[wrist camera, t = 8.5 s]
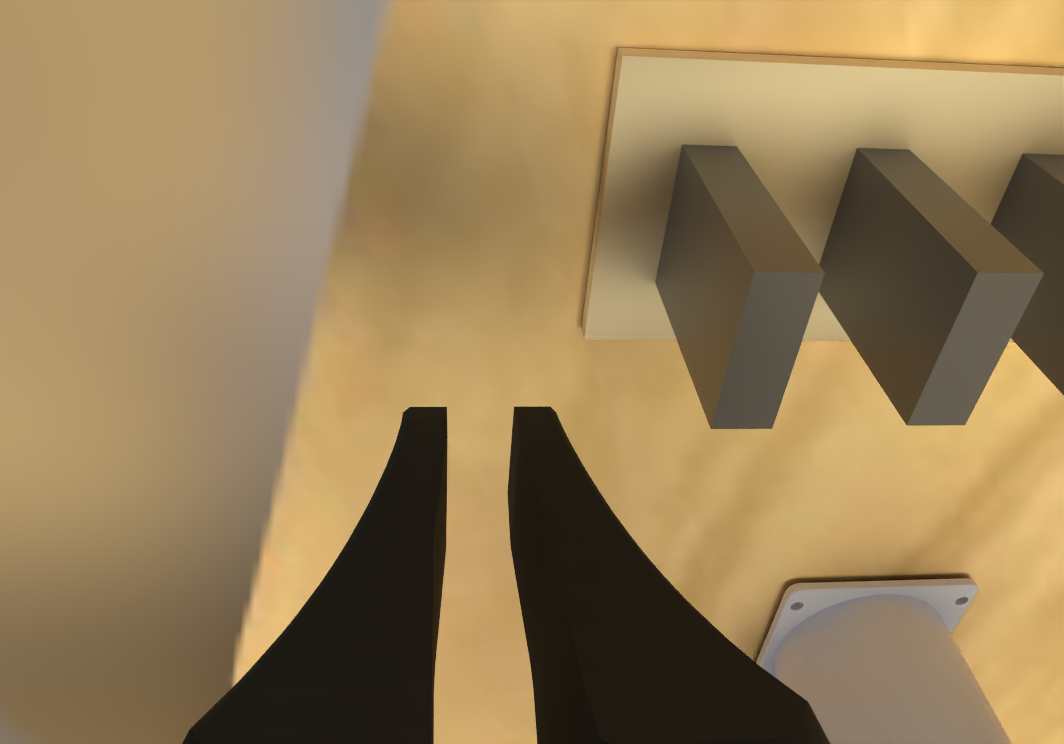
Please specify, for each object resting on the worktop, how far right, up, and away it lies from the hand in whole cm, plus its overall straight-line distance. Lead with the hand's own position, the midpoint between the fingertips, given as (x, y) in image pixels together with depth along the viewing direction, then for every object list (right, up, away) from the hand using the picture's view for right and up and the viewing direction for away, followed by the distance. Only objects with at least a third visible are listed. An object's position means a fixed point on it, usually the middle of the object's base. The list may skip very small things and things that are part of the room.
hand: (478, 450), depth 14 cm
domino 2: (+10, +5, +8) cm, 14 cm away
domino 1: (+5, +5, +8) cm, 11 cm away
